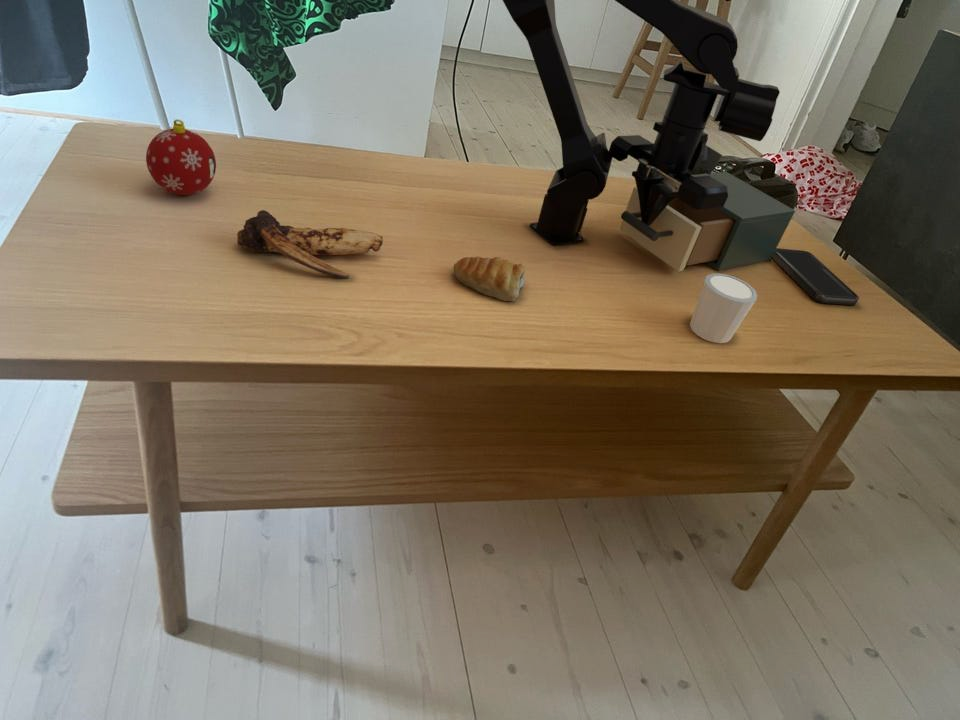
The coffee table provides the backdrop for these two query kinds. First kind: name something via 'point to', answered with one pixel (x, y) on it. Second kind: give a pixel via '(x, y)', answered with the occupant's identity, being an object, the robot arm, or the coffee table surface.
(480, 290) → the pastry
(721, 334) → the white cylinder
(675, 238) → the drawer
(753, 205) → the cabinet
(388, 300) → the coffee table surface
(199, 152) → the christmas ornament
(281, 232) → the bone fish hook
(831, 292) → the phone
